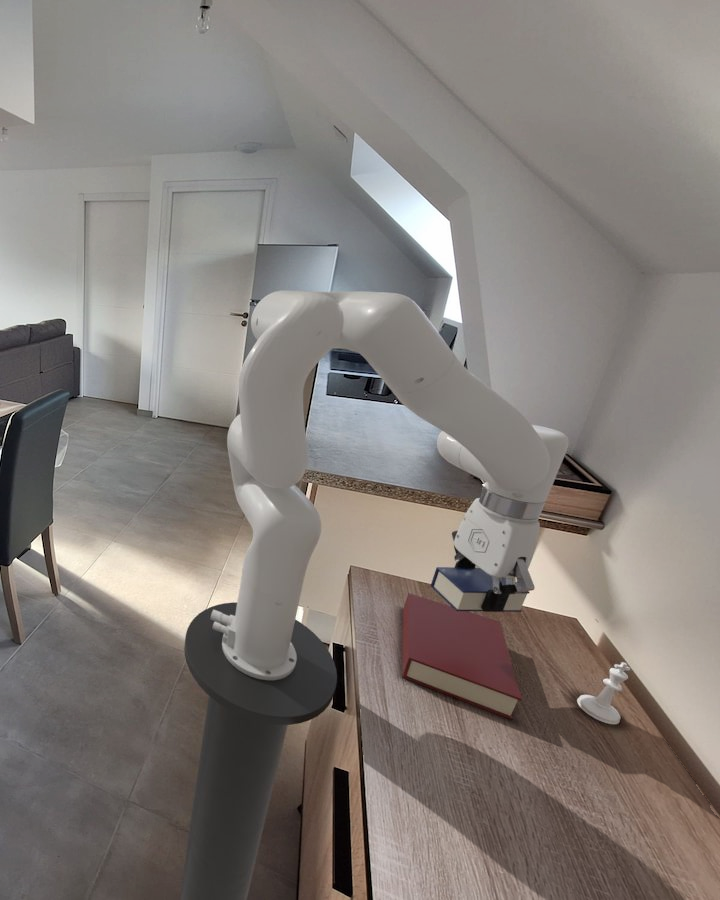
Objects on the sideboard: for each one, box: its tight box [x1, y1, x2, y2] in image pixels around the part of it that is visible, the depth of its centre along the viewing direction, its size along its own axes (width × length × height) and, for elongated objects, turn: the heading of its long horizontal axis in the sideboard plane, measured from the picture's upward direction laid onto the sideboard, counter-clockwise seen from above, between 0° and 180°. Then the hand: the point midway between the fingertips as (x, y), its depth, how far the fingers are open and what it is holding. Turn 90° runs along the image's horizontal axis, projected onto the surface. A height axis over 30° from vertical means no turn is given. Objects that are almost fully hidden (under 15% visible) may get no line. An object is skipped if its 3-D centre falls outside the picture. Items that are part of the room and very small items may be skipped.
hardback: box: [401, 593, 523, 721], centre depth 82 cm, size 20×15×4 cm
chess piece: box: [576, 661, 631, 725], centre depth 71 cm, size 5×5×10 cm
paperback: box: [430, 566, 531, 613], centre depth 77 cm, size 11×6×4 cm, turn 91°
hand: (475, 595), depth 77 cm, fingers closed on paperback, 6 cm apart
